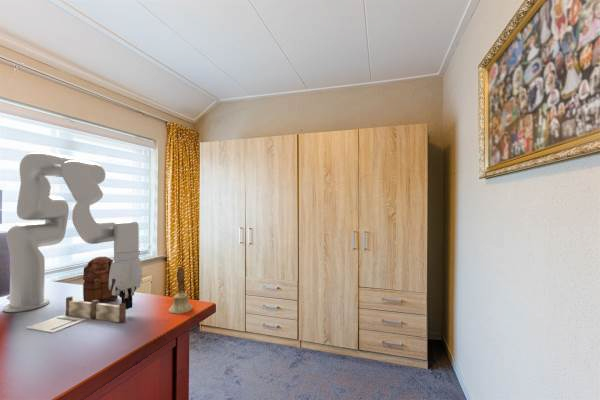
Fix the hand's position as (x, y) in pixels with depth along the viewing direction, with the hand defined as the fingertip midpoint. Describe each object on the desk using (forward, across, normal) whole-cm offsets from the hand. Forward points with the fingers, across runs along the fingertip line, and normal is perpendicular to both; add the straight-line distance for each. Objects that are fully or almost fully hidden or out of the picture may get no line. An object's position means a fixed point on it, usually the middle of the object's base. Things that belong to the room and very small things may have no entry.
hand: (126, 307), depth 100 cm
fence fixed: (+2, +5, -14) cm, 15 cm away
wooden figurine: (+3, -8, -21) cm, 23 cm away
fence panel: (+2, +5, -1) cm, 6 cm away
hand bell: (+3, -10, +15) cm, 18 cm away
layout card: (+2, +12, -16) cm, 20 cm away
